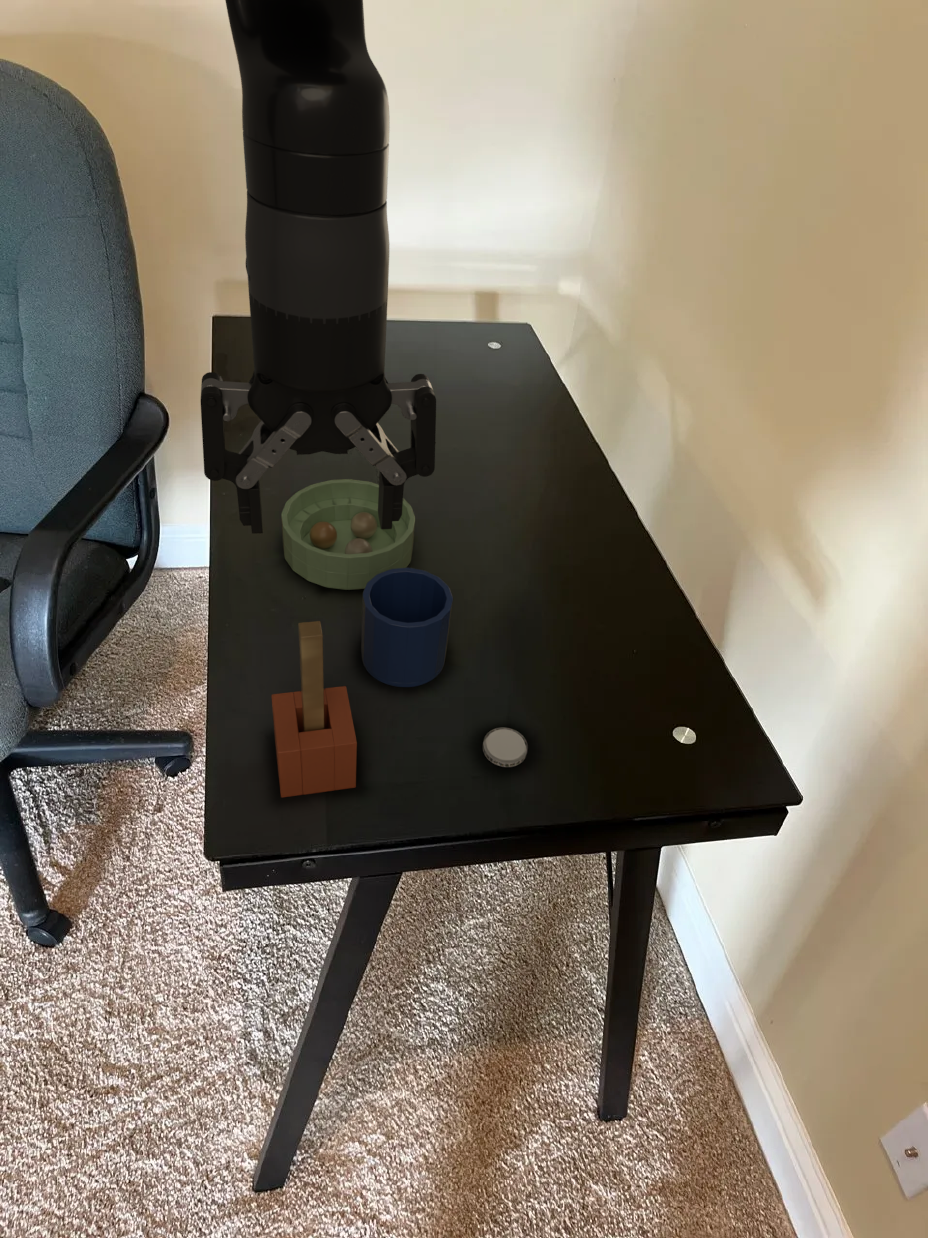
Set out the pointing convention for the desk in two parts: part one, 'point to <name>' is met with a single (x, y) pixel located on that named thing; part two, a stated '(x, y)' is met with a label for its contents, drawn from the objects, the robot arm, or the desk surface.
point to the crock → (405, 626)
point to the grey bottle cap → (505, 747)
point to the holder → (314, 745)
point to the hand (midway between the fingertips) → (322, 524)
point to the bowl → (343, 534)
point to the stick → (311, 675)
